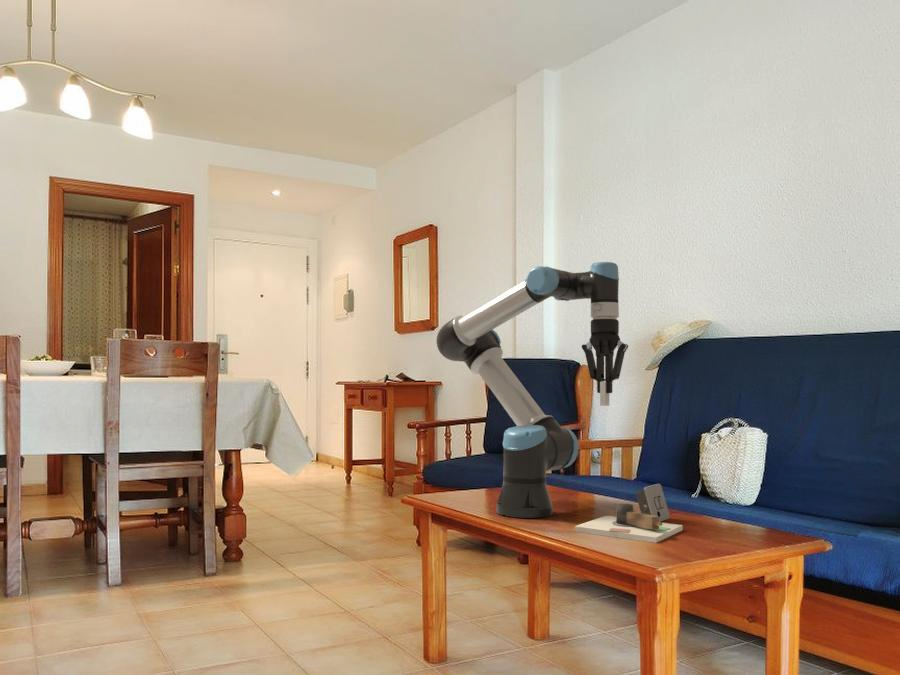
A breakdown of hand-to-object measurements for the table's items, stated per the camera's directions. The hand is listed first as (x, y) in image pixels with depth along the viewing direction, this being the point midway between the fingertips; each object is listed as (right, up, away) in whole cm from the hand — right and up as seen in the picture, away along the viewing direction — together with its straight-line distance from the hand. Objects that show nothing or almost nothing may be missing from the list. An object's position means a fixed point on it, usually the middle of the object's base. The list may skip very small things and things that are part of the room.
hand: (604, 405), depth 201 cm
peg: (+3, -27, -25) cm, 37 cm away
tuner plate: (+1, -28, -23) cm, 36 cm away
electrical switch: (+11, -29, -9) cm, 32 cm away
